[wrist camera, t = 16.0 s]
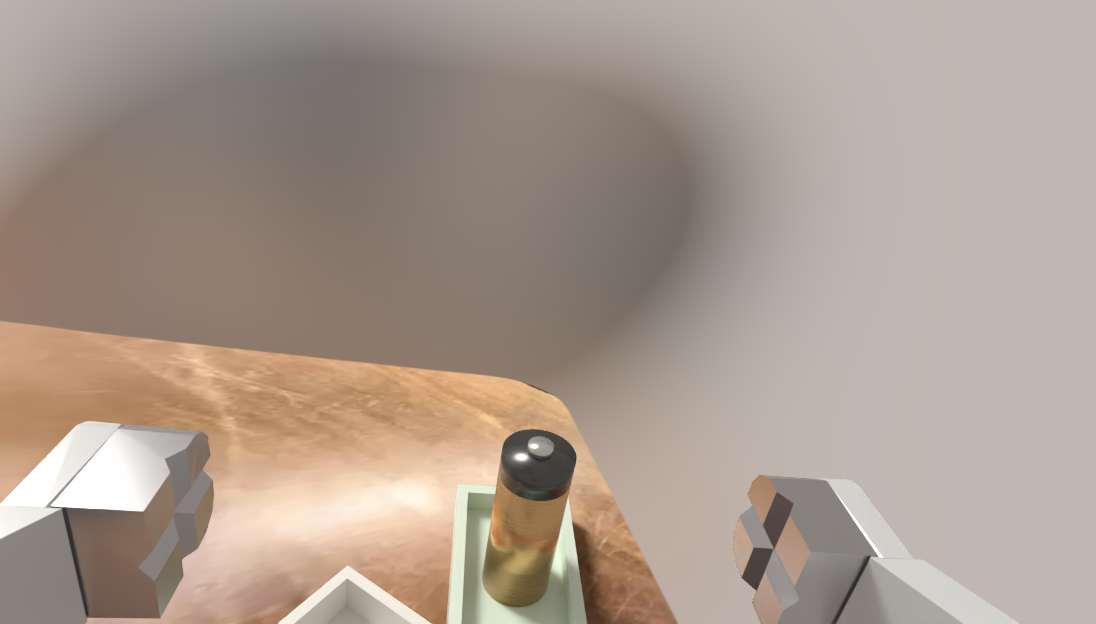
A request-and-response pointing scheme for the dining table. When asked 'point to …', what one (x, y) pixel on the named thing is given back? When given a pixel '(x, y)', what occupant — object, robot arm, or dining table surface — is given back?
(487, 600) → the pale green tray
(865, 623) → the robot arm
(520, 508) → the cell
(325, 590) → the small white open box
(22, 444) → the dining table surface
